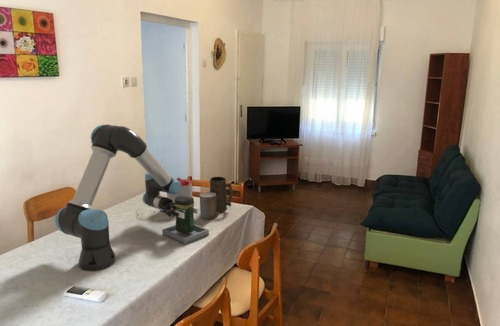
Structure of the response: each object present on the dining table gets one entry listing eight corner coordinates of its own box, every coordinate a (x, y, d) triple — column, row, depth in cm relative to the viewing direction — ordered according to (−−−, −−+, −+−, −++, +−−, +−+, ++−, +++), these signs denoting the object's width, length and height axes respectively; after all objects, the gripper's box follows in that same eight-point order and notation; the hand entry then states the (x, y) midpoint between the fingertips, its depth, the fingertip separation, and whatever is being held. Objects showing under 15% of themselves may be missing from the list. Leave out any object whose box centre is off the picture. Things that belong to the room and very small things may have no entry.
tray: (184, 244, 196) (184, 239, 195) (162, 234, 208) (162, 229, 207) (208, 235, 208) (208, 229, 207) (186, 226, 219) (186, 221, 219)
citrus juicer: (190, 202, 258) (189, 172, 254) (194, 211, 242) (193, 179, 237) (165, 205, 253) (164, 174, 249) (168, 214, 237) (167, 181, 233)
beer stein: (205, 210, 243) (207, 179, 238) (212, 205, 253) (213, 175, 248) (229, 215, 239) (231, 183, 234) (235, 209, 249) (237, 178, 244)
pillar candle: (219, 214, 237) (218, 190, 234) (213, 220, 228) (212, 195, 224) (203, 213, 239) (202, 189, 236) (197, 219, 230) (196, 194, 227)
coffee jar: (197, 229, 209) (196, 195, 204) (189, 234, 202) (188, 200, 197) (181, 226, 212) (180, 193, 208) (173, 231, 205) (171, 197, 201)
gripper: (179, 205, 225) (206, 215, 210) (147, 215, 209) (174, 226, 195) (178, 192, 223) (206, 201, 208) (146, 201, 208) (173, 211, 193)
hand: (190, 213), depth 202 cm, fingers closed on coffee jar, 8 cm apart
